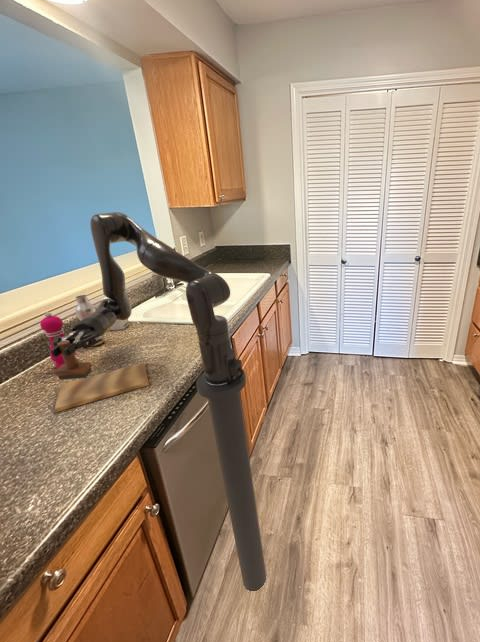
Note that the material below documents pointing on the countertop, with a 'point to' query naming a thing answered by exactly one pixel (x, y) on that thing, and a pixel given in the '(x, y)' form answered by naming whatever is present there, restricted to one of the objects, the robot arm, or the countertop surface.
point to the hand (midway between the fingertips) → (59, 353)
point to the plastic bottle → (85, 310)
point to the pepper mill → (53, 334)
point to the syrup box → (119, 322)
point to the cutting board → (101, 386)
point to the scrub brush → (71, 365)
